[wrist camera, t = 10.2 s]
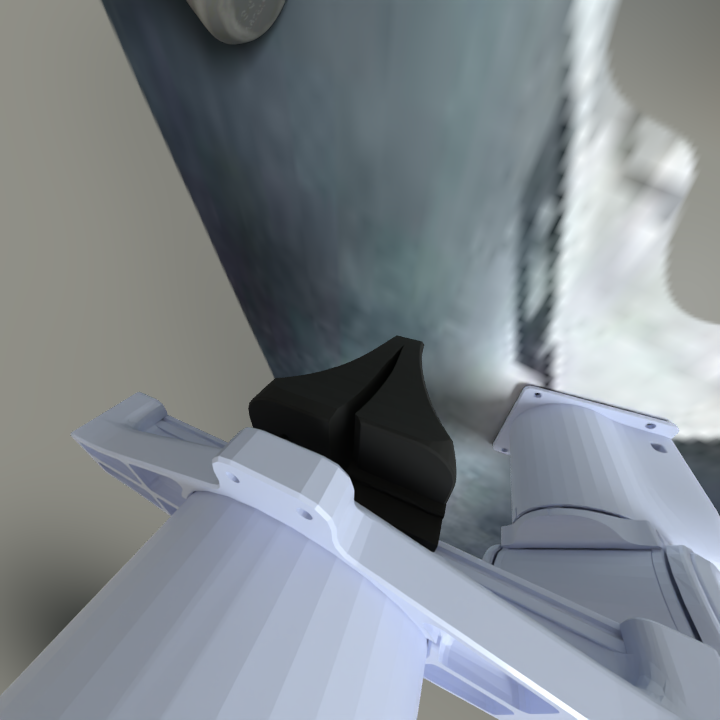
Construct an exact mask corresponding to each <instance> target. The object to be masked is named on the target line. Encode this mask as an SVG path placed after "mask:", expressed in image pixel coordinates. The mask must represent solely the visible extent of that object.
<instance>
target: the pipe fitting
mask: <svg viewBox="0 0 720 720" xmlns="http://www.w3.org/2000/svg"><path fill="white" fill-rule="evenodd" d="M186 1H187V2H188V4H189V5H190V7H191V8H192V9H193V11H194V12H195V14H196V15H197V16H198V18H199V19H200V20H201V22H202V23H203V24H204V26H205V27H206V28H207V29H208V31H209V32H210V33H211V34H212V35H213V36H214V37H215V38H217V39H218V40H220V41H221V42H224V43H227V44H242V43H247V42H250V41H253V40H255V39H257V38H258V37H260V36H261V35H263V34H264V33H265V32H266V31H267V30H268V29H269V28H270V27H271V26H272V24H273V23H274V22H275V20H276V19H277V17H278V15H279V13H280V12H281V10H282V8H283V5H284V3H285V1H286V0H186Z"/></svg>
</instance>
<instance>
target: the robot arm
mask: <svg viewBox="0 0 720 720" xmlns="http://www.w3.org/2000/svg"><path fill="white" fill-rule="evenodd" d="M423 348H424V344H423V342H421V341H417V340H413V339H409V338H405V337H401V336H395V337H393V338H392V339H390V340H389V341H387V342H386V343H384V344H383V345H381V346H379V347H378V348H376V349H374V350H373V351H371V352H369V353H367V354H365V355H364V356H362V357H360V358H358V359H356V360H353V361H351V362H349V363H346V364H343V365H341V366H338V367H334V368H331V369H328V370H324V371H321V372H316V373H312V374H307V375H301V376H293V377H285V378H275V379H274V380H273V381H272V382H271V383H270V384H268V385H267V386H266V387H265V388H264V389H263V390H262V391H261V392H260V393H259V394H258V395H256V397H254V398H253V399H252V400H251V402H250V403H249V408H248V409H249V415H250V419H251V422H252V426H253V428H251V427H246V428H245V429H243V430H241V431H239V433H237V435H235V436H234V438H232V439H231V440H230V442H225V441H223V440H221V439H219V438H217V437H215V436H213V435H210V434H208V433H206V432H204V431H202V430H200V429H197V428H195V427H193V426H191V425H189V424H187V423H184V422H182V421H180V420H178V419H176V418H174V417H171V416H169V415H167V411H166V409H165V408H164V406H163V404H162V403H161V402H159V401H158V400H157V399H155V398H153V397H150V396H148V395H146V394H144V393H141V392H137V393H135V394H134V395H132V396H130V397H129V398H127V399H125V400H124V401H122V402H120V403H119V404H117V405H116V406H114V407H112V408H111V409H109V410H107V411H106V412H104V413H102V414H101V415H99V416H98V417H96V418H94V419H93V420H91V421H90V422H88V423H86V424H85V425H83V426H81V427H80V428H78V429H76V430H75V431H73V432H71V436H72V437H73V438H74V439H75V441H76V442H77V443H78V444H79V445H80V446H81V447H82V448H83V449H84V450H85V451H86V452H87V453H88V454H89V455H90V456H91V457H92V458H93V459H94V460H95V461H96V462H97V464H99V466H100V467H101V468H102V469H103V470H104V471H105V472H106V473H108V474H109V475H111V476H112V477H114V478H116V479H117V480H119V481H121V482H122V483H123V484H125V485H126V486H128V487H130V488H131V489H132V490H134V491H135V492H137V493H138V494H140V495H141V496H143V497H144V498H146V499H147V500H148V501H150V502H151V503H153V504H154V505H155V506H157V507H158V508H160V509H161V510H162V511H164V512H165V513H167V514H168V515H170V516H171V517H170V518H169V519H168V520H167V521H166V522H165V523H164V524H163V525H162V526H161V527H160V528H159V529H158V530H157V532H156V533H155V534H154V535H153V536H152V537H151V538H150V539H149V540H148V541H147V542H146V543H145V544H144V545H143V546H142V547H141V548H140V549H139V550H138V551H137V553H136V554H135V555H134V556H133V557H132V558H131V559H130V560H129V561H128V562H127V563H126V564H125V565H124V566H123V567H122V568H121V569H120V570H119V571H118V572H117V574H116V575H115V576H114V577H113V578H112V579H111V580H110V581H109V582H108V583H107V584H106V585H105V586H104V587H103V588H102V589H101V590H100V591H99V592H98V594H97V595H96V596H95V597H94V598H93V599H92V600H91V601H90V602H89V603H88V604H87V605H86V606H85V607H84V608H83V609H82V610H81V611H80V612H79V614H78V615H77V616H76V617H75V618H74V619H73V620H72V621H71V622H70V623H69V624H68V625H67V626H66V627H65V628H64V629H63V630H62V631H61V633H59V635H58V636H57V637H56V638H55V639H54V640H53V641H52V642H51V643H50V644H49V645H48V646H47V647H46V648H45V649H44V650H43V651H42V653H40V654H39V656H38V657H37V658H36V659H35V660H34V661H33V662H32V663H31V664H30V665H29V666H28V667H27V668H26V669H25V670H24V672H22V674H21V675H20V676H19V677H18V678H17V679H16V680H15V681H14V682H13V683H12V684H11V685H10V686H9V687H8V688H7V689H6V690H5V691H4V692H3V694H1V696H0V720H417V714H418V707H419V701H420V694H421V688H422V681H423V678H425V679H427V680H428V681H430V682H432V683H434V684H436V685H437V686H440V687H441V688H443V689H445V690H446V691H448V692H450V693H452V694H454V695H455V696H457V697H459V698H461V699H463V700H465V701H466V702H468V703H470V704H472V705H474V706H475V707H478V708H479V709H481V710H483V711H484V712H486V713H488V714H490V715H492V716H494V717H495V718H497V719H499V720H720V516H719V514H718V512H717V511H716V509H715V507H714V506H713V504H712V503H711V501H710V500H709V498H708V496H707V495H706V493H705V492H704V490H703V489H702V487H701V485H700V484H699V482H698V481H697V479H696V477H695V476H694V474H693V473H692V471H691V470H690V468H689V466H688V465H687V463H686V462H685V460H684V459H683V457H682V455H681V454H680V452H679V451H678V449H677V448H676V446H675V444H674V443H673V441H672V440H671V439H672V438H673V437H674V436H675V435H676V434H677V433H678V432H679V429H678V427H677V426H676V425H675V424H674V423H671V422H667V421H663V420H660V419H656V418H652V417H648V416H644V415H641V414H637V413H633V412H629V411H626V410H622V409H618V408H614V407H610V406H607V405H603V404H599V403H595V402H592V401H588V400H584V399H580V398H576V397H573V396H569V395H565V394H561V393H558V392H554V391H550V390H546V389H543V388H539V387H535V386H526V387H524V388H523V390H522V392H521V394H520V395H519V397H518V399H517V401H516V403H515V404H514V406H513V408H512V410H511V412H510V414H509V415H508V417H507V419H506V421H505V423H504V424H503V426H502V428H501V430H500V432H499V434H498V435H497V437H496V439H495V441H494V443H493V449H494V450H496V451H498V452H501V453H504V454H507V455H510V468H511V497H512V525H509V526H503V527H501V545H493V546H491V547H490V548H489V549H488V550H487V551H486V553H485V555H484V557H483V559H482V560H481V559H479V558H476V557H474V556H472V555H470V554H468V553H466V552H463V551H461V550H459V549H457V548H455V547H453V546H451V545H448V544H446V543H444V542H442V541H440V540H439V536H440V530H441V524H442V519H443V518H444V514H445V508H446V503H447V501H448V499H449V497H450V495H451V493H452V491H453V489H454V486H455V483H456V459H455V452H454V446H453V441H452V440H451V438H450V437H449V435H448V434H447V432H446V431H445V429H444V427H443V426H442V424H441V422H440V420H439V418H438V417H437V415H436V412H435V410H434V408H433V406H432V404H431V401H430V398H429V395H428V392H427V389H426V385H425V381H424V376H423V370H422V352H423ZM535 393H540V394H539V395H535ZM650 423H651V425H647V424H650ZM503 448H506V449H503Z"/></svg>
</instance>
